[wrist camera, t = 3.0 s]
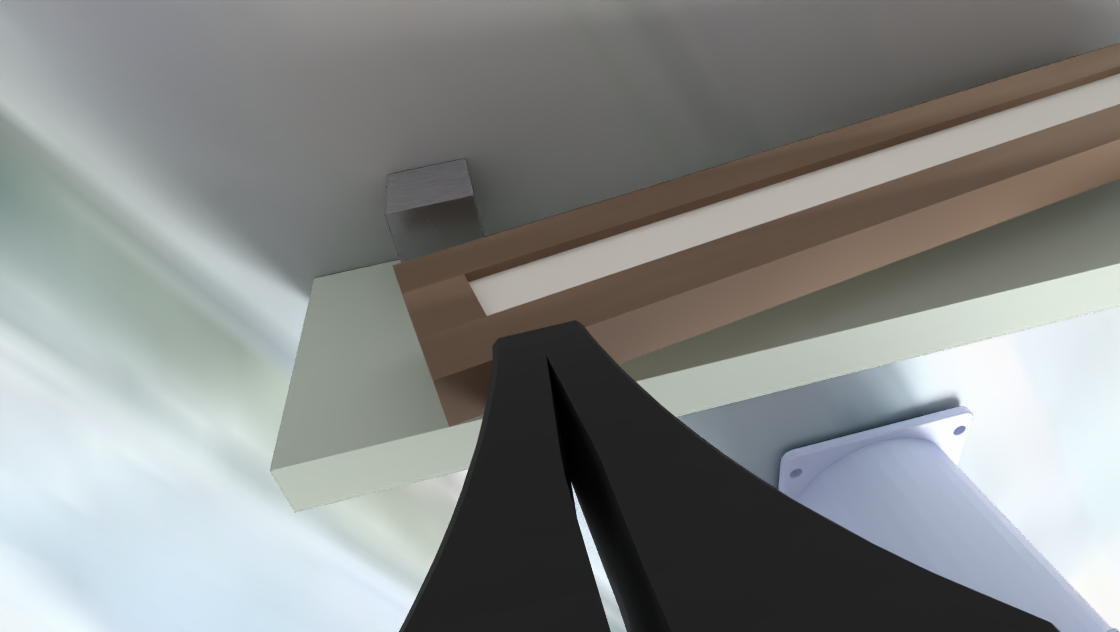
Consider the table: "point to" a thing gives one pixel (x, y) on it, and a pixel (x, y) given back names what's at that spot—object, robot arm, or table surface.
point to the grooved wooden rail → (767, 224)
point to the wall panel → (679, 369)
